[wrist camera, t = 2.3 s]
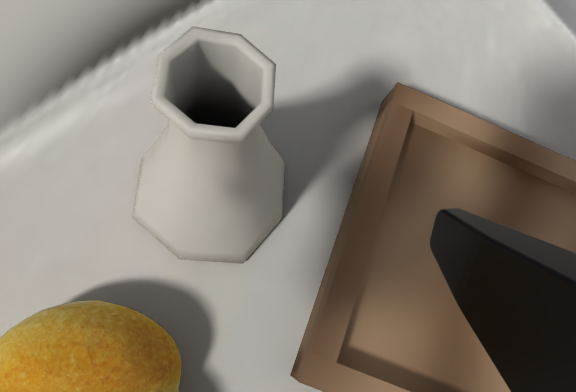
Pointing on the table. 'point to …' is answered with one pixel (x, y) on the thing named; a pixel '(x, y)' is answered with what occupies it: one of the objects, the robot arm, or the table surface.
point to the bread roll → (89, 351)
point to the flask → (211, 150)
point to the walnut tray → (424, 249)
